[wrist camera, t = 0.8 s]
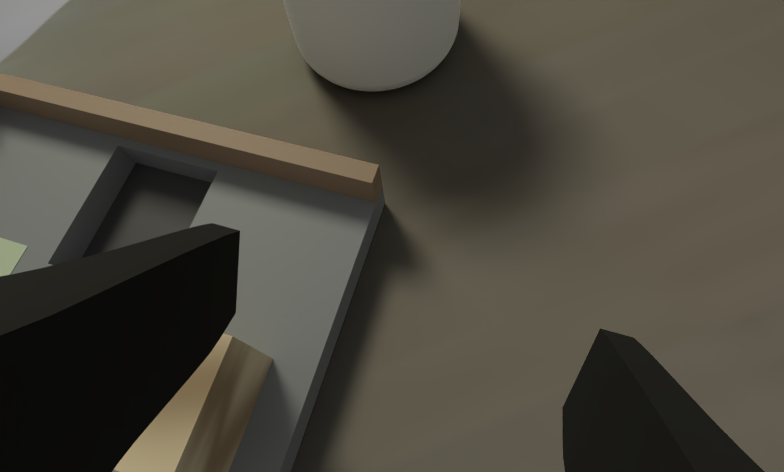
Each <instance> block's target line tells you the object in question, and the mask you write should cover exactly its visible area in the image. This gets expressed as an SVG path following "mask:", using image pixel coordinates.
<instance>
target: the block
mask: <svg viewBox="0 0 784 472" xmlns="http://www.w3.org/2000/svg"><path fill="white" fill-rule="evenodd" d="M272 360H273V358H271V357H269V356H267V355H265V354H264V353H262V352H260V351H258V350H256V349H255V348H253V347H251V346H249V345H247V344H246V343H244V342H242V341H240V340H238V339H237V338H235V337H233V336H230V335H227V334H224V333H223V335H222V336H221V338H220V339H219V341H218V342H217V344H216V345H215V347H214V348H213V350H212V351H211V353H210V354H209V355H208V356H207V358H206V359H205V360H204V361H203V362H202V364H201V365H200V366H199V367H198V368H197V370H196V371H195V372H194V373H193V374H192V376H191V377H190V378H189V379H188V380H187V381H186V383H185V384H184V385H183V386H182V387H181V388H180V390H179V391H178V392H177V393H176V394H175V395H174V397H173V398H172V399H171V400H170V401H169V402H168V404H167V405H166V406H165V407H164V408H163V410H162V411H161V412H160V413H159V414H158V415H157V417H156V418H155V419H154V420H153V421H152V422H151V424H150V425H149V426H148V427H147V428H146V429H145V431H144V432H143V433H142V434H141V435H140V436H139V438H138V439H137V440H136V441H135V442H134V444H133V445H132V446H131V447H130V449H129V450H128V451H127V452H126V454H125V455H124V456H123V458H122V459H121V460H120V461H119V463H118V464H117V465H116V467H115V468H114V470H116V471H119V472H229V470H230V467H231V465H232V462H233V460H234V457H235V454H236V452H237V449H238V447H239V444H240V442H241V439H242V437H243V434H244V432H245V429H246V426H247V424H248V421H249V419H250V416H251V414H252V411H253V409H254V406H255V404H256V401H257V398H258V396H259V393H260V391H261V388H262V386H263V383H264V381H265V378H266V375H267V373H268V370H269V368H270V365H271V363H272Z"/></svg>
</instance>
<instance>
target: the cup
mask: <svg viewBox="0 0 784 472" xmlns="http://www.w3.org/2000/svg"><path fill="white" fill-rule="evenodd" d="M282 1H283V4H284V7H285V10H286V13H287V16H288V19H289V22H290V25H291V29H292V32H293V35H294V38H295V41H296V44H297V47H298V49H299V51H300V53H301V54H302V56H303V58H304V59H305V61H306V62H307V63H308V64H309V66H310V67H311V68H312V69H313V70H314V71H316V72H317V73H318V74H319V75H321V76H322V77H324V78H325V79H327V80H329V81H330V82H332V83H334V84H336V85H339V86H342V87H345V88H348V89H353V90H358V91H386V90H392V89H396V88H400V87H403V86H406V85H409V84H411V83H413V82H416V81H417V80H419V79H421V78H423V77H424V76H426V75H427V74H428V73H430V72H431V71H432V70H434V69H435V68H436V67H437V66H438V65H439V64H440V63H441V62H442V60H443V59H444V58H445V57H446V55H447V54H448V53H449V51H450V49H451V47H452V45H453V43H454V41H455V38H456V35H457V31H458V26H459V17H460V5H461V0H282Z"/></svg>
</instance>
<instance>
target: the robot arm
mask: <svg viewBox="0 0 784 472" xmlns="http://www.w3.org/2000/svg"><path fill="white" fill-rule="evenodd" d="M239 243H240V231H239V230H236V229H232V228H228V227H225V226H221V225H217V224H214V223H210V224H204V225H200V226H195V227H191V228H188V229H184V230H180V231H177V232H173V233H170V234H166V235H163V236H159V237H156V238H152V239H149V240H146V241H142V242H139V243H135V244H132V245H128V246H125V247H121V248H118V249H114V250H111V251H107V252H103V253H99V254H95V255H91V256H88V257H84V258H80V259H76V260H72V261H68V262H64V263H60V264H56V265H52V266H48V267H44V268H39V269H35V270H30V271H25V272H21V273H16V274H11V275H5V276H0V472H112V471H113V470H114V468H115V467H116V465H117V464H118V463H119V461H120V460H121V459H122V458H123V456H124V455H125V454H126V452H127V451H128V450H129V449H130V447H131V446H132V445H133V444H134V442H135V441H136V440H137V439H138V438H139V436H140V435H141V434H142V433H143V432H144V431H145V429H146V428H147V427H148V426H149V425H150V424H151V422H152V421H153V420H154V419H155V418H156V417H157V415H158V414H159V413H160V412H161V411H162V410H163V408H164V407H165V406H166V405H167V404H168V402H169V401H170V400H171V399H172V398H173V397H174V395H175V394H176V393H177V392H178V391H179V390H180V388H181V387H182V386H183V385H184V384H185V383H186V381H187V380H188V379H189V378H190V377H191V376H192V374H193V373H194V372H195V371H196V370H197V368H198V367H199V366H200V365H201V364H202V362H203V361H204V360H205V359H206V358H207V356H208V355H209V354H210V353H211V351H212V350H213V348H214V347H215V345H216V344H217V342H218V341H219V339H220V338H221V336H222V335H223V333H224V331H225V330H226V328H227V327H228V325H229V323H230V322H231V320H232V318H233V317H234V315H235V314H236V301H237V282H238V262H239ZM563 459H564V466H565V472H764V471H763V470H762V469H761V468H760V467H759V466H758V465H757V464H756V463H755V462H754V461H753V460H752V459H751V458H750V457H749V456H748V455H747V454H746V453H745V452H744V451H743V450H741V448H740V447H739V446H738V445H737V444H736V443H735V442H734V441H733V440H732V439H731V438H730V437H729V436H728V435H727V434H726V433H725V432H724V431H723V430H722V429H721V428H720V427H719V426H718V425H717V424H716V423H715V422H714V421H713V420H712V419H711V418H710V417H709V416H708V415H707V414H706V413H705V411H704V410H703V409H702V408H701V407H700V406H699V405H698V404H697V403H696V402H695V401H694V400H693V399H692V398H691V397H690V396H689V394H688V393H687V392H686V391H685V390H684V389H683V388H682V387H681V386H680V385H679V384H678V383H677V382H676V380H675V379H674V378H673V377H672V376H671V375H670V374H669V373H668V372H667V371H666V370H665V369H664V368H663V366H662V365H661V364H660V363H659V362H658V361H657V360H656V359H655V358H654V357H653V356H652V355H651V354H650V353H649V352H648V351H647V350H646V349H645V348H644V347H643V346H642V345H641V344H640V343H639V342H638V341H637V340H636V339H634V338H633V337H629V336H625V335H622V334H618V333H614V332H611V331H607V330H603V329H600V330H599V332H598V335H597V337H596V339H595V341H594V343H593V345H592V347H591V349H590V351H589V353H588V356H587V358H586V360H585V362H584V364H583V366H582V368H581V370H580V372H579V374H578V377H577V379H576V381H575V383H574V385H573V387H572V389H571V391H570V393H569V395H568V398H567V400H566V402H565V404H564V406H563Z"/></svg>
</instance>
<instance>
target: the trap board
mask: <svg viewBox="0 0 784 472" xmlns="http://www.w3.org/2000/svg"><path fill="white" fill-rule="evenodd" d="M384 205H385V200H384V194H383V188H382V181H381V175H380V169H379V165H377V164H373V163H369V162H365V161H361V160H357V159H353V158H348V157H344V156H340V155H336V154H332V153H328V152H324V151H320V150H316V149H311V148H307V147H303V146H299V145H295V144H291V143H287V142H283V141H278V140H274V139H270V138H266V137H262V136H258V135H254V134H250V133H245V132H241V131H237V130H233V129H229V128H225V127H221V126H217V125H212V124H208V123H204V122H200V121H196V120H192V119H188V118H184V117H179V116H175V115H171V114H167V113H163V112H159V111H155V110H151V109H147V108H142V107H138V106H134V105H130V104H126V103H122V102H118V101H114V100H109V99H105V98H101V97H97V96H93V95H89V94H85V93H81V92H76V91H72V90H68V89H64V88H60V87H56V86H52V85H48V84H43V83H39V82H35V81H31V80H27V79H23V78H19V77H15V76H10V75H6V74H2V73H0V276H5V275H11V274H16V273H21V272H25V271H30V270H35V269H39V268H44V267H48V266H52V265H56V264H60V263H64V262H68V261H72V260H76V259H80V258H84V257H88V256H91V255H95V254H99V253H103V252H107V251H111V250H114V249H118V248H121V247H125V246H128V245H132V244H135V243H139V242H142V241H146V240H149V239H152V238H156V237H159V236H163V235H166V234H170V233H173V232H177V231H180V230H184V229H188V228H191V227H195V226H200V225H204V224H210V223H214V224H217V225H221V226H225V227H228V228H232V229H236V230H239V231H240V243H239V262H238V282H237V301H236V314H235V315H234V317H233V318H232V320H231V322H230V323H229V325H228V327H227V328H226V330H225V331H224V334H227V335H230V336H233V337H235V338H237V339H238V340H240V341H242V342H244V343H246V344H247V345H249V346H251V347H253V348H255V349H256V350H258V351H260V352H262V353H264V354H265V355H267V356H269V357H271V358H273V360H272V363H271V365H270V368H269V370H268V373H267V375H266V378H265V381H264V383H263V386H262V388H261V391H260V393H259V396H258V398H257V401H256V404H255V406H254V409H253V411H252V414H251V416H250V419H249V421H248V424H247V426H246V429H245V432H244V434H243V437H242V439H241V442H240V444H239V447H238V449H237V452H236V454H235V457H234V460H233V462H232V465H231V467H230V470H229V472H291V470H292V467H293V464H294V461H295V459H296V456H297V453H298V450H299V447H300V444H301V442H302V439H303V436H304V433H305V430H306V427H307V424H308V422H309V419H310V416H311V413H312V410H313V407H314V404H315V402H316V399H317V396H318V393H319V390H320V387H321V384H322V382H323V379H324V376H325V373H326V370H327V367H328V365H329V362H330V359H331V356H332V353H333V350H334V347H335V345H336V342H337V339H338V336H339V333H340V330H341V327H342V325H343V322H344V319H345V316H346V313H347V310H348V307H349V305H350V302H351V299H352V296H353V293H354V290H355V288H356V285H357V282H358V279H359V276H360V273H361V270H362V268H363V265H364V262H365V259H366V256H367V253H368V250H369V248H370V245H371V242H372V239H373V236H374V233H375V230H376V228H377V225H378V222H379V219H380V216H381V213H382V211H383V208H384ZM112 472H119V471H116V470H113V471H112Z"/></svg>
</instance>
